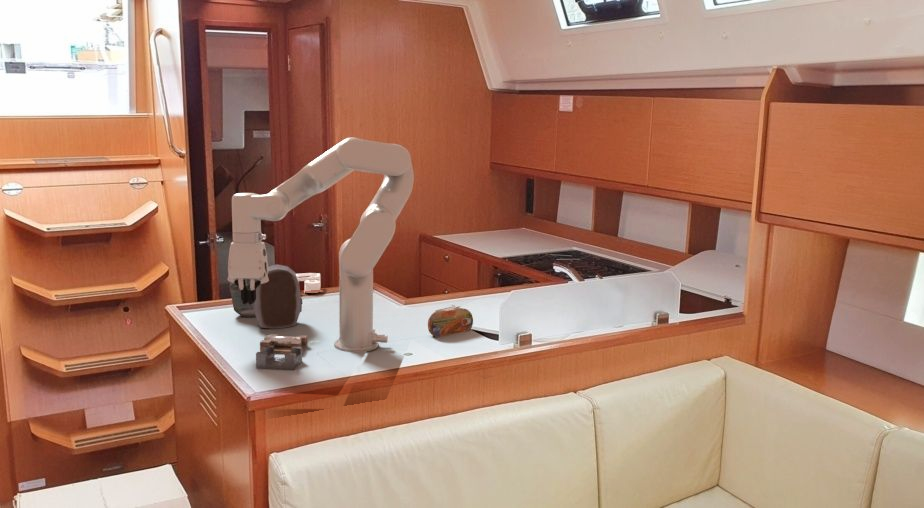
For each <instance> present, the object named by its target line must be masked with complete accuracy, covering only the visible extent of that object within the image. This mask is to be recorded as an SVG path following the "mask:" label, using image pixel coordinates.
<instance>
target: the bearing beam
mask: <svg viewBox="0 0 924 508" xmlns="http://www.w3.org/2000/svg"><path fill="white" fill-rule="evenodd" d="M267 336H279V334H275V333H269V334H268V335H267ZM297 337H302V346H301V342H297V341H292V342H291V343H290V347H274V352H275V354H282V355H283V354H284V355H285V354H286V353H291V348H292V347H302V352H303V351H304V350H306V348H307V347H308V346H309V345H308V341H309V340H308V335H298V336H297ZM265 345H267V346H271V340H264V339H262V340H260V342H259V352H263V347H264V346H265Z"/></svg>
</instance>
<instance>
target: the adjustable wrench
mask: <svg viewBox="0 0 924 508" xmlns="http://www.w3.org/2000/svg"><path fill="white" fill-rule="evenodd" d="M451 305H452V306H449V307H448V306H447V307H445V308H440V309H437V310H436V309H435V311H434V312H436V311H441V310H448V309H455V308H458V307H459V308H461V306H459V305H453V304H451Z"/></svg>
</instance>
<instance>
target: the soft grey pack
mask: <svg viewBox="0 0 924 508" xmlns="http://www.w3.org/2000/svg"><path fill="white" fill-rule="evenodd" d="M296 274H297V273H296V272H295V271H294V270H293V269H291V268H290V267H289V266H288V265H284V264H283V265H282V264H273V265H268V275H267V276H268V278H269V281H268V282H266V283H263V284H260V285H259V286H258V287H257V288H256V301H255V302H254V303H253V311H254V314H255V315H256V316H255V318H256V322H257V323H258V327H260V328H263V329H268V330H269V329H283V328H290V327H294V326H297V323H298V319H299V316H300V313H301V312H302V311H303V309H302V308H303V306H302V305H303V298H302V297H301V289H300V287H301V286H300V281H299V282H298V279H297V276H296ZM258 280H260V279H258Z"/></svg>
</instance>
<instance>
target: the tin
mask: <svg viewBox="0 0 924 508" xmlns="http://www.w3.org/2000/svg"><path fill="white" fill-rule="evenodd" d="M429 316H430V317H429V318H428V320H427V329H428V332H429V334H430V335H432V336H433V337H435V338H440V337H445V336H449V335H453V334H458V333H463V332H470V331H471V330H472V327H473V324H474V317H473V314H472V313H471V311H470V310H469V309H466V308H464V307H463V308H461V307H459V308H455V309H448V310H441V311H436V312H435V311H434V312H433V313H432V314H431V315H429Z"/></svg>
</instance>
